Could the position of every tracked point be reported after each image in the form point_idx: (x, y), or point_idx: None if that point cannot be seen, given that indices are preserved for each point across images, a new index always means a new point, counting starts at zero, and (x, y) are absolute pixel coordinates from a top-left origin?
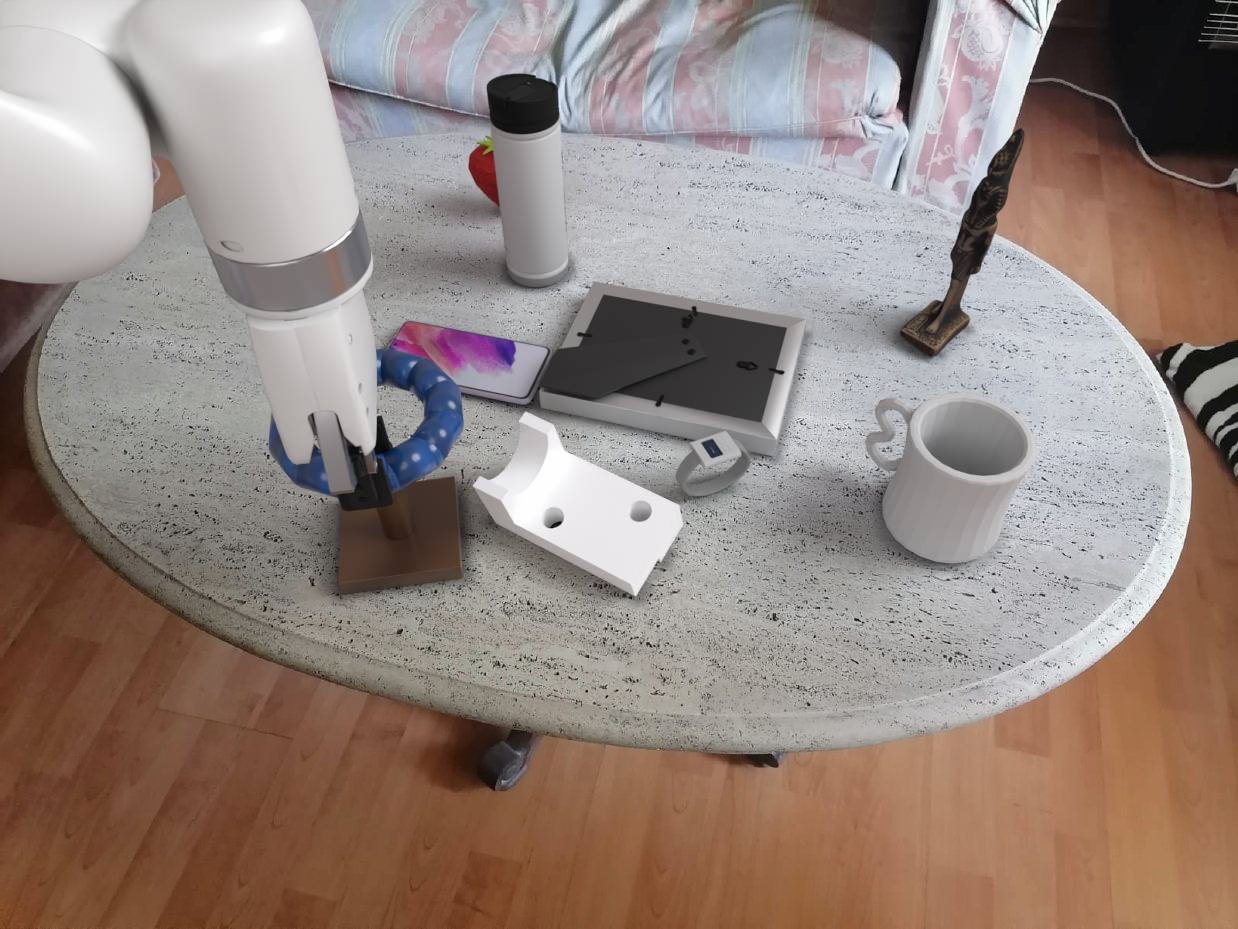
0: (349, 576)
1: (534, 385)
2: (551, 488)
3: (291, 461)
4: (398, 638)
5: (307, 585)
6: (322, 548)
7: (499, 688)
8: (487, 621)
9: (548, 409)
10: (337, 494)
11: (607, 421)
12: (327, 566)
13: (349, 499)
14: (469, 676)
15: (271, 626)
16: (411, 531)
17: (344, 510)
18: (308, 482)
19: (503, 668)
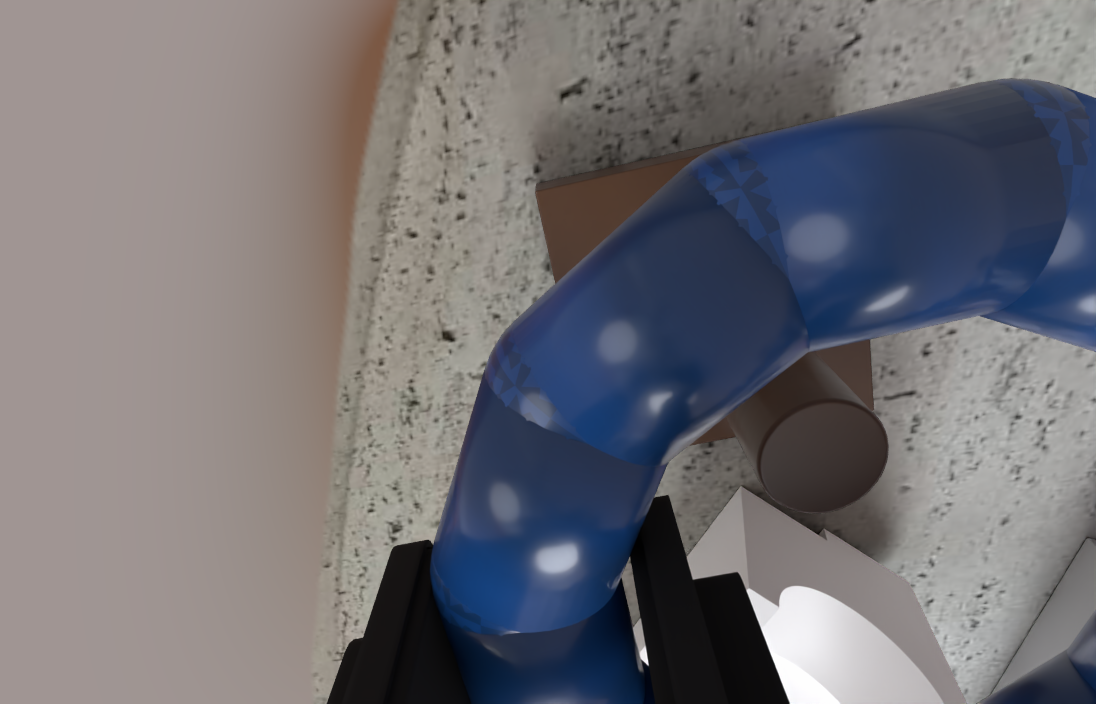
0: (558, 215)
1: None
2: (781, 660)
3: (559, 372)
4: (430, 336)
5: (560, 80)
6: (680, 89)
7: (344, 537)
8: None
9: (1077, 553)
10: (372, 617)
11: (1010, 665)
12: (621, 119)
13: (337, 682)
14: (361, 485)
15: (429, 15)
16: None
17: (396, 546)
18: (467, 443)
19: (387, 539)
